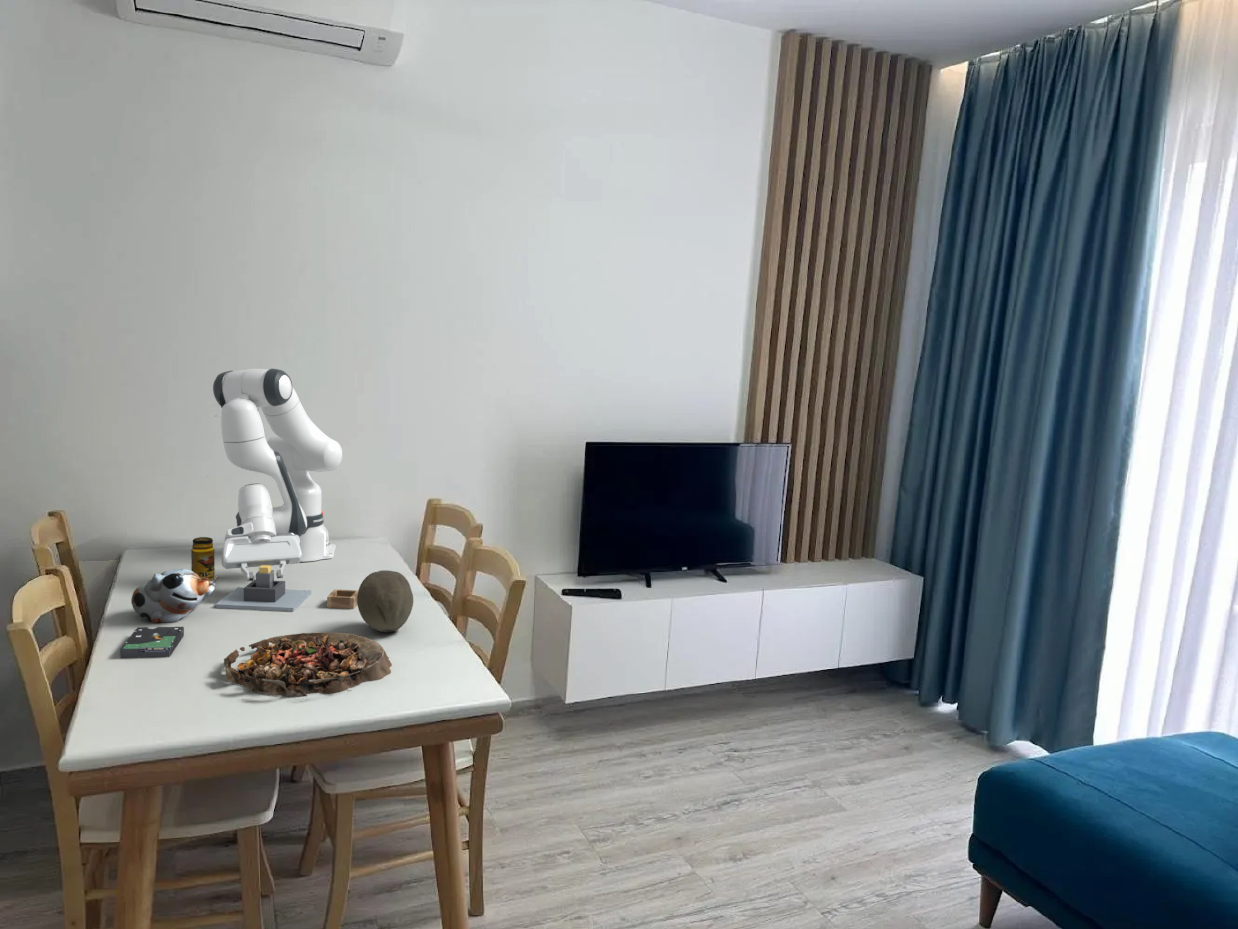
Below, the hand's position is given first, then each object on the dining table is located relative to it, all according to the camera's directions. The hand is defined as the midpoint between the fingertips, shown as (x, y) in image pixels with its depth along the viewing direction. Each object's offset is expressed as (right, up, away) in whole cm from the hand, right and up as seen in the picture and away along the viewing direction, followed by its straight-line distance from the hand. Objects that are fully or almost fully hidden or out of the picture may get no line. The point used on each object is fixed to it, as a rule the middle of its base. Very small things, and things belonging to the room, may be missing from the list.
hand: (265, 578), depth 249 cm
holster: (+20, -7, +2) cm, 22 cm away
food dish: (+27, -15, -44) cm, 53 cm away
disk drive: (-12, -12, -36) cm, 39 cm away
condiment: (-25, -3, +17) cm, 31 cm away
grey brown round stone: (+36, -11, -16) cm, 41 cm away
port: (-1, -6, +1) cm, 6 cm away
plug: (-1, -5, +1) cm, 5 cm away
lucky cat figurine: (-17, -8, -14) cm, 24 cm away
